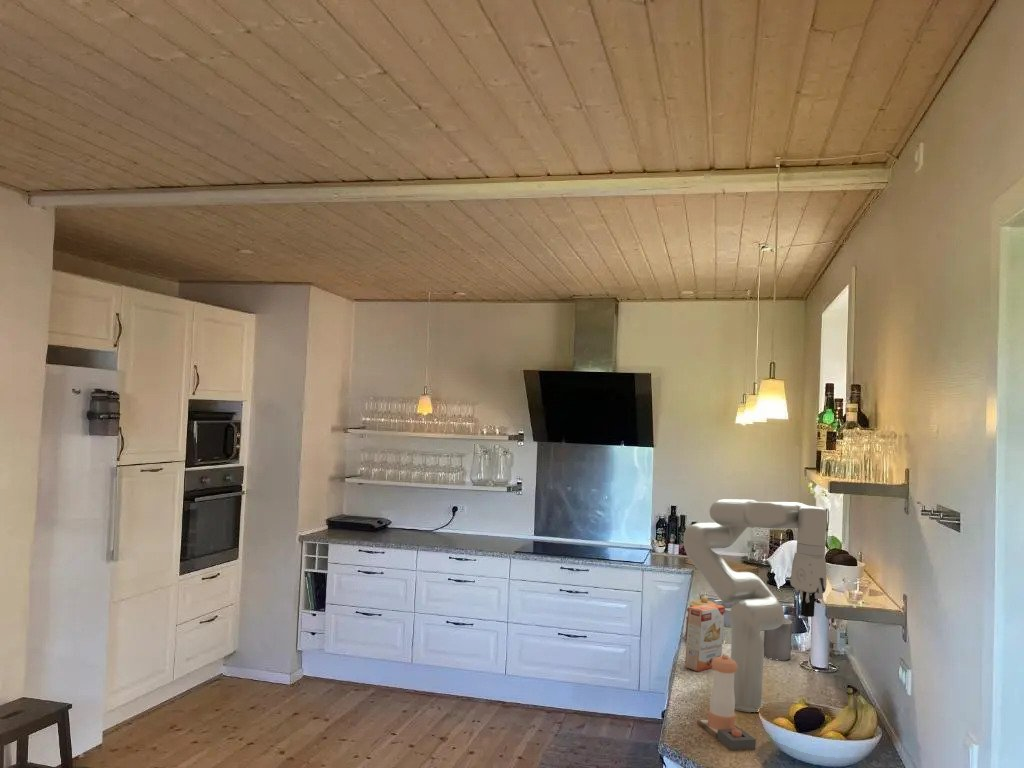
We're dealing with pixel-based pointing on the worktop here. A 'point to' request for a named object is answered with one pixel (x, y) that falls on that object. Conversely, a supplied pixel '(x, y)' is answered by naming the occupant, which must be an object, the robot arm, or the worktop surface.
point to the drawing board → (712, 731)
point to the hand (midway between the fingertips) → (807, 615)
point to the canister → (696, 603)
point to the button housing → (736, 740)
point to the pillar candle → (778, 641)
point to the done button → (736, 733)
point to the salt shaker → (722, 694)
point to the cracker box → (704, 636)
